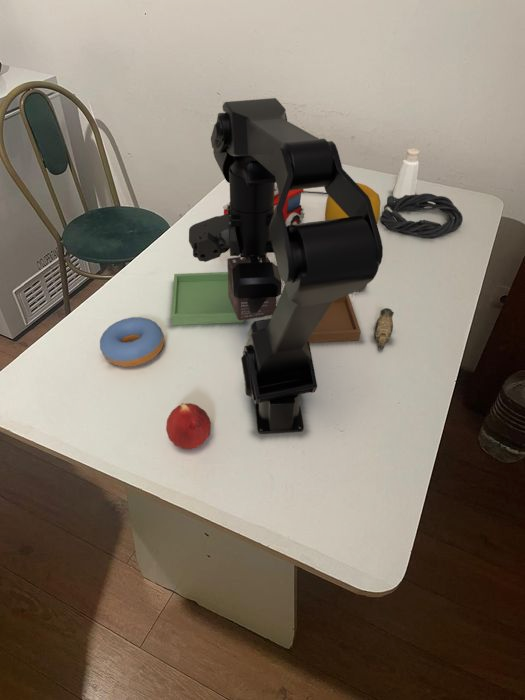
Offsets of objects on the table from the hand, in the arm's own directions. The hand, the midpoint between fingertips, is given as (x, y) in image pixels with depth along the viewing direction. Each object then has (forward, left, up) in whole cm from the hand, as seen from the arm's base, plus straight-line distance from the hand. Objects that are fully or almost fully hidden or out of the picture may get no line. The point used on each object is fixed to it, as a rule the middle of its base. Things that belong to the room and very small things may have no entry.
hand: (252, 298), depth 77 cm
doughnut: (0, +19, -10) cm, 22 cm away
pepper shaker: (+50, -40, -10) cm, 65 cm away
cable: (+37, -40, -10) cm, 56 cm away
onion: (-19, +10, -10) cm, 23 cm away
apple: (+29, -22, -10) cm, 38 cm away
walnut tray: (+5, -13, -10) cm, 17 cm away
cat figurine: (0, -22, -10) cm, 24 cm away
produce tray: (+12, +7, -10) cm, 18 cm away
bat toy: (+14, -21, -10) cm, 27 cm away
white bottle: (+55, -19, -10) cm, 59 cm away
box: (0, 0, -2) cm, 2 cm away
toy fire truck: (+35, -5, -10) cm, 37 cm away
